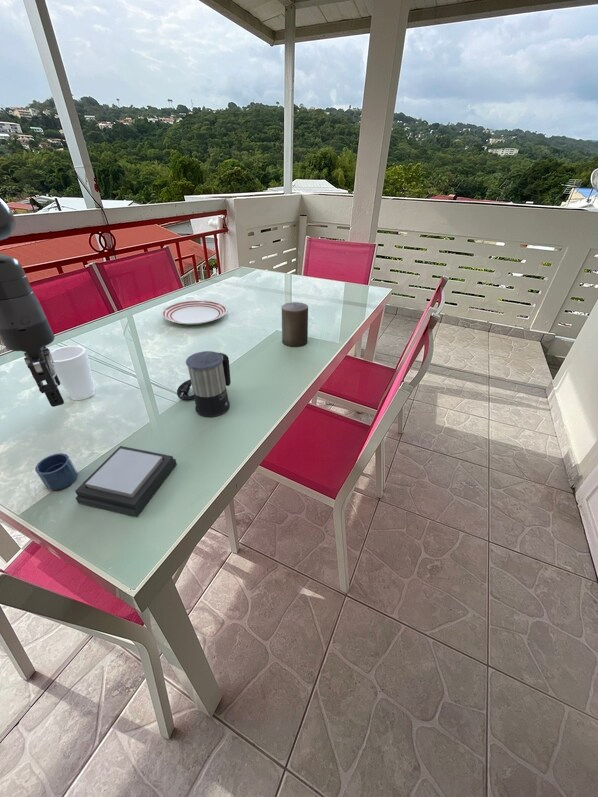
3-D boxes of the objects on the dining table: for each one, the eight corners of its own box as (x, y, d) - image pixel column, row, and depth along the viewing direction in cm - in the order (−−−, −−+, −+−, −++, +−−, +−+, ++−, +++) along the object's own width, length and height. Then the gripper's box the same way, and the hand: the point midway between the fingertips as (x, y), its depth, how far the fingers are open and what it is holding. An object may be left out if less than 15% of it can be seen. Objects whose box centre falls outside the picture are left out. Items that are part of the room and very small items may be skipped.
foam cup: (56, 398, 92) (35, 357, 85) (85, 382, 99) (68, 343, 92) (80, 406, 89) (61, 364, 82) (108, 389, 97) (93, 349, 89)
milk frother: (226, 418, 86) (219, 368, 78) (166, 417, 86) (152, 367, 78) (235, 388, 98) (230, 342, 89) (182, 387, 98) (172, 341, 89)
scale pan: (133, 498, 62) (131, 493, 61) (87, 488, 64) (85, 483, 63) (163, 461, 70) (161, 456, 69) (122, 452, 72) (120, 448, 71)
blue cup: (62, 493, 65) (52, 476, 63) (39, 488, 67) (27, 471, 64) (84, 473, 70) (75, 456, 67) (62, 468, 71) (52, 451, 68)
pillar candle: (308, 347, 121) (309, 307, 113) (282, 347, 121) (281, 307, 112) (306, 336, 129) (307, 298, 121) (281, 336, 129) (280, 298, 120)
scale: (137, 517, 61) (132, 507, 60) (78, 503, 64) (72, 493, 62) (177, 464, 72) (174, 454, 71) (125, 453, 75) (121, 444, 73)
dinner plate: (238, 310, 152) (237, 303, 150) (207, 333, 130) (206, 325, 128) (186, 303, 159) (185, 297, 157) (149, 324, 137) (147, 316, 135)
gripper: (-5, 311, 62) (33, 385, 71) (-9, 337, 52) (35, 418, 61) (43, 304, 66) (73, 375, 75) (47, 327, 56) (81, 405, 65)
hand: (56, 394), depth 68 cm, fingers open, 8 cm apart
